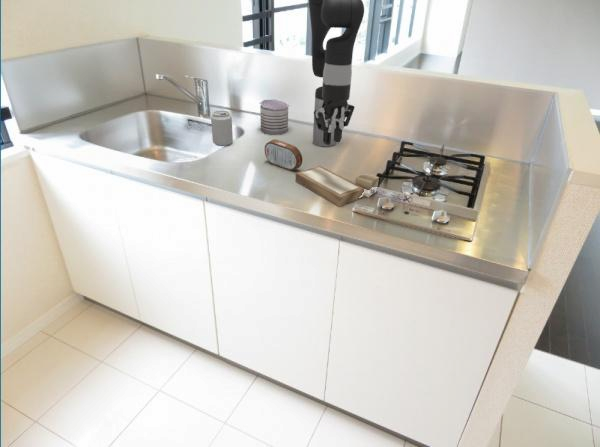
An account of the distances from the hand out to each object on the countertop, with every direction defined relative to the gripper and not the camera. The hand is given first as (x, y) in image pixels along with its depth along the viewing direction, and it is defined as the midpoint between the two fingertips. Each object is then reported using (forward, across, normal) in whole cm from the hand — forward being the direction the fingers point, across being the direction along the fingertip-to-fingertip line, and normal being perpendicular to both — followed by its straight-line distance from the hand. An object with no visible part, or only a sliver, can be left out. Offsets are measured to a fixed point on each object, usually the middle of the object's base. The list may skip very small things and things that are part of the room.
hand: (331, 142), depth 120 cm
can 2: (+15, -17, -52) cm, 57 cm away
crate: (+15, -8, +8) cm, 19 cm away
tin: (+15, +1, -22) cm, 27 cm away
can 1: (+15, +7, -52) cm, 55 cm away
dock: (+15, 0, 0) cm, 15 cm away
